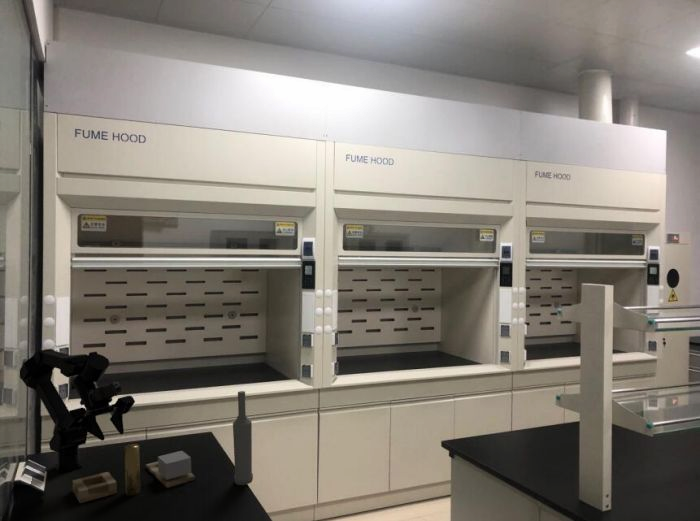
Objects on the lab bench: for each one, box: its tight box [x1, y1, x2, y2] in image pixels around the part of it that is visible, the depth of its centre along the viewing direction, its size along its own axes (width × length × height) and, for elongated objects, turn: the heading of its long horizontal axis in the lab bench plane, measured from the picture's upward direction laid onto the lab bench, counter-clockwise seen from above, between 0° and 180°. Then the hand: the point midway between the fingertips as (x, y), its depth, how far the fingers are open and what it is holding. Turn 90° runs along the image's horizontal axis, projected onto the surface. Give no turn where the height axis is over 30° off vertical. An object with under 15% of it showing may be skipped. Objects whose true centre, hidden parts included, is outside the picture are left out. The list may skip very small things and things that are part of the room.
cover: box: [157, 450, 192, 480], centre depth 154 cm, size 7×7×4 cm
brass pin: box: [124, 443, 141, 497], centre depth 145 cm, size 4×4×12 cm
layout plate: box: [145, 461, 196, 489], centre depth 157 cm, size 18×8×1 cm, turn 38°
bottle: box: [232, 390, 254, 486], centre depth 150 cm, size 5×5×25 cm
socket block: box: [72, 471, 118, 504], centre depth 145 cm, size 9×9×3 cm
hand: (113, 436), depth 149 cm, fingers open, 5 cm apart
